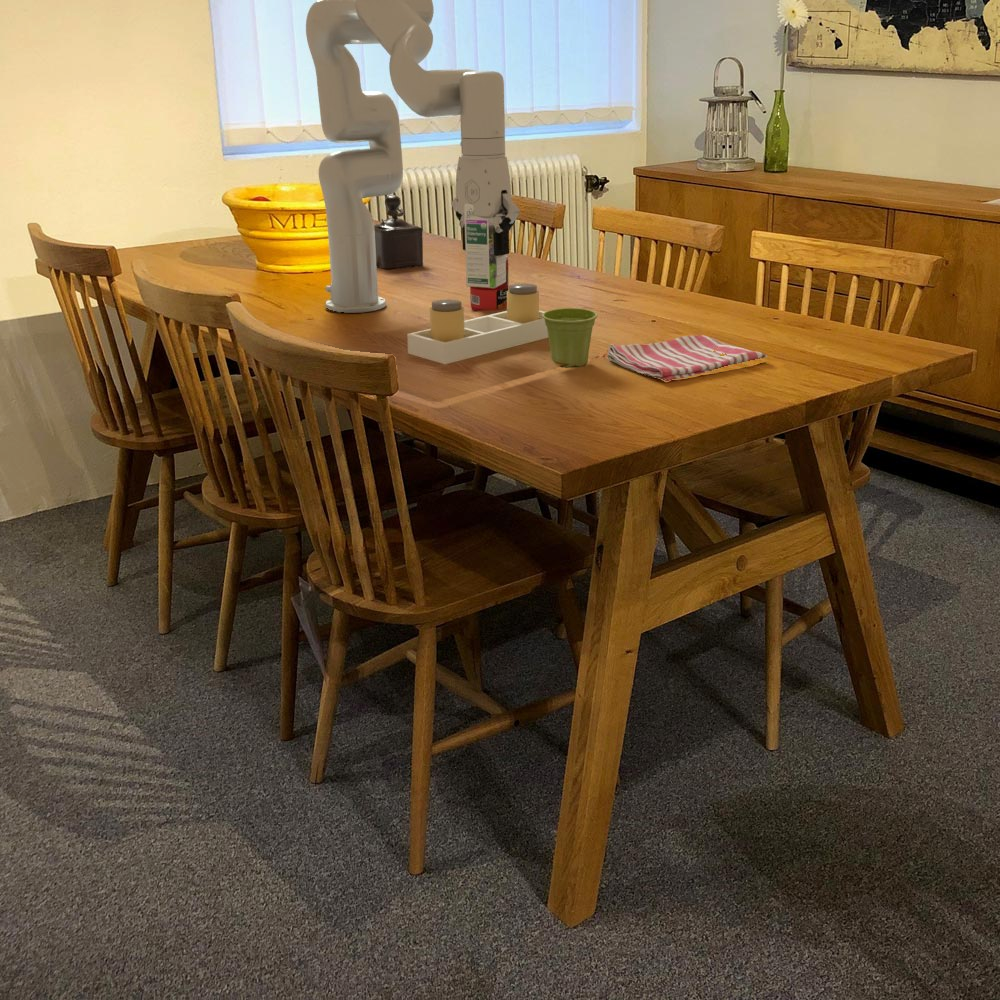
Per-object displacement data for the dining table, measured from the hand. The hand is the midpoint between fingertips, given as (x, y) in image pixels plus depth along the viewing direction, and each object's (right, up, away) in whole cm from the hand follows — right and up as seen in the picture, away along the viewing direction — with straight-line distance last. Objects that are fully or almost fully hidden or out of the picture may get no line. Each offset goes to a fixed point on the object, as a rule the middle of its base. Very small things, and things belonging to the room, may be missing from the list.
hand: (485, 251), depth 203 cm
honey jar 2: (+7, -13, +12) cm, 19 cm away
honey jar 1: (-7, -18, +1) cm, 19 cm away
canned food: (0, -5, +35) cm, 35 cm away
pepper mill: (-22, +13, +79) cm, 83 cm away
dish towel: (+35, -21, -4) cm, 41 cm away
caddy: (0, -16, +7) cm, 17 cm away
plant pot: (+15, -20, -3) cm, 25 cm away
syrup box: (0, -6, +2) cm, 6 cm away
